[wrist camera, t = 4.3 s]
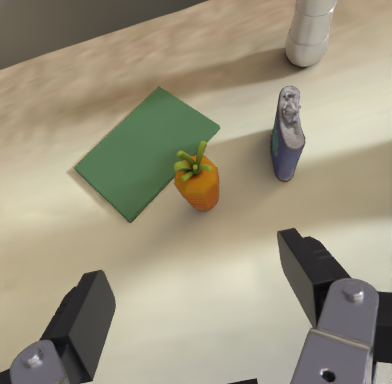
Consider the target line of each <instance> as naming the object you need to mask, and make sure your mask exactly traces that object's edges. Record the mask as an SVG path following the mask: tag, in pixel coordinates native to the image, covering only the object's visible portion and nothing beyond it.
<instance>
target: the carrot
mask: <svg viewBox="0 0 392 384" xmlns="http://www.w3.org/2000/svg"><path fill="white" fill-rule="evenodd" d="M206 144H207V142H205V141H201V142H200V144H199V147H198V150H197V156H190V155H189V154H187V153H185V152H184V151H181V150H180V151H178V153H177V154H176V155H177V156H178V157H179V158H181V159H183V161H182V162H181V161H179V162H176V163H175V164H174V169H175V170H176V173H175V182H174V184H175V186H176V187H177V189H178V190H179V192H180V193H181V194H182V196H183V197H184V198H185V199H186V200H187V201H188V202H189V203H190V204H191V205H192V206H193V207H194V208H195V209H197V210H210V209H211V208H212V207H213V206H214V205H216V204H217V201H218V197H219V176H218V170H217V167H216V166H215V165H214V164H212V163H211V162H210V161H209V160H208V159H207V158H206V157H205V156H203V153H204V150H205V147H206Z"/></svg>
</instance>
